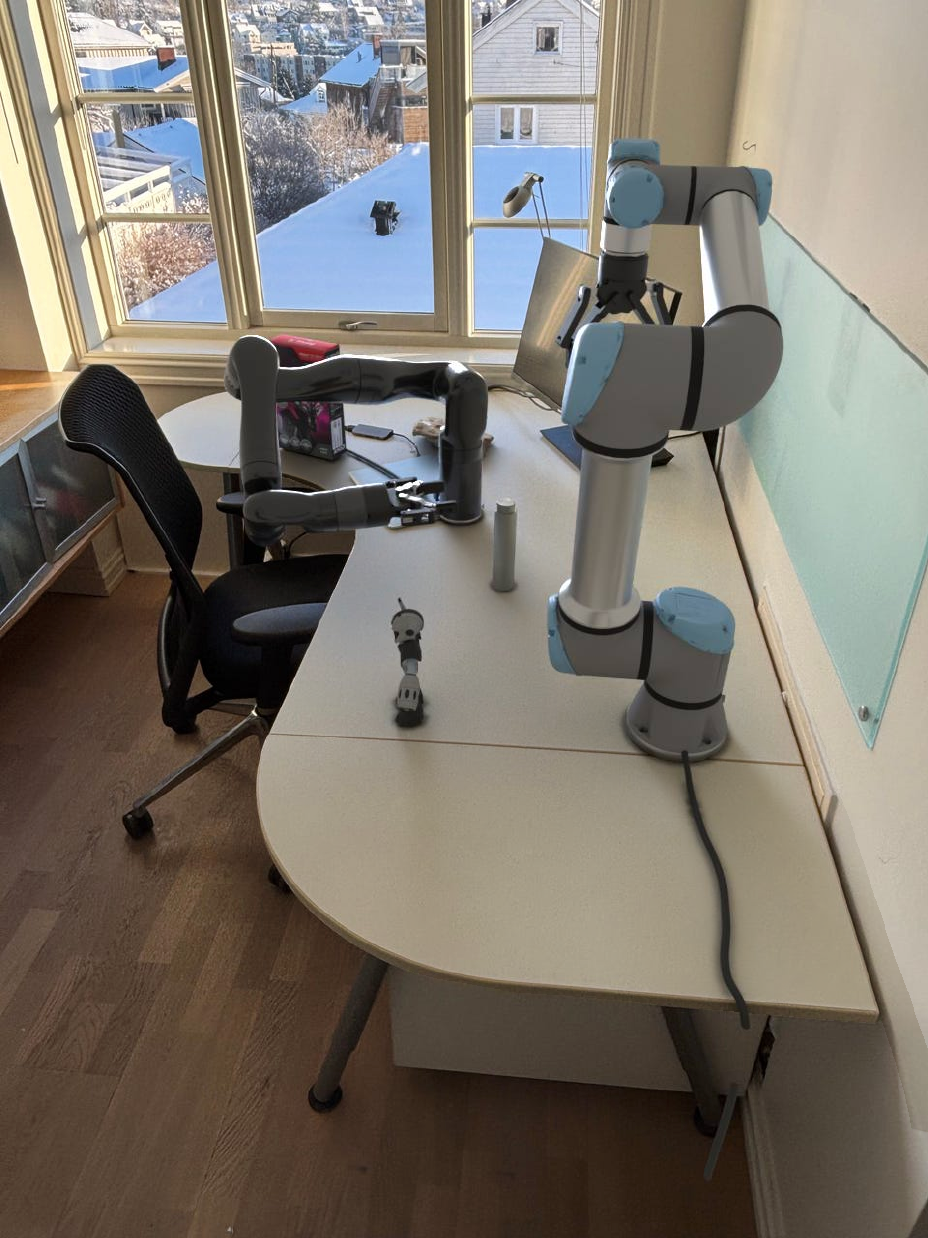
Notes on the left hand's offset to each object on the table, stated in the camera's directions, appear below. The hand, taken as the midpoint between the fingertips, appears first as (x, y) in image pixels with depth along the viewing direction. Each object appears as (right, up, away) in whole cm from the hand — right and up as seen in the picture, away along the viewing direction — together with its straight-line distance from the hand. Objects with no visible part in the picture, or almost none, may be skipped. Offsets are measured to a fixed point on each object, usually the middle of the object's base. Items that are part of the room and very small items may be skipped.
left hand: (450, 496), depth 164 cm
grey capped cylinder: (+10, -15, +14) cm, 23 cm away
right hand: (+27, +17, -10) cm, 34 cm away
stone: (-1, +22, +69) cm, 72 cm away
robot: (-6, -37, -18) cm, 41 cm away
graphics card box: (-35, +20, +66) cm, 78 cm away
